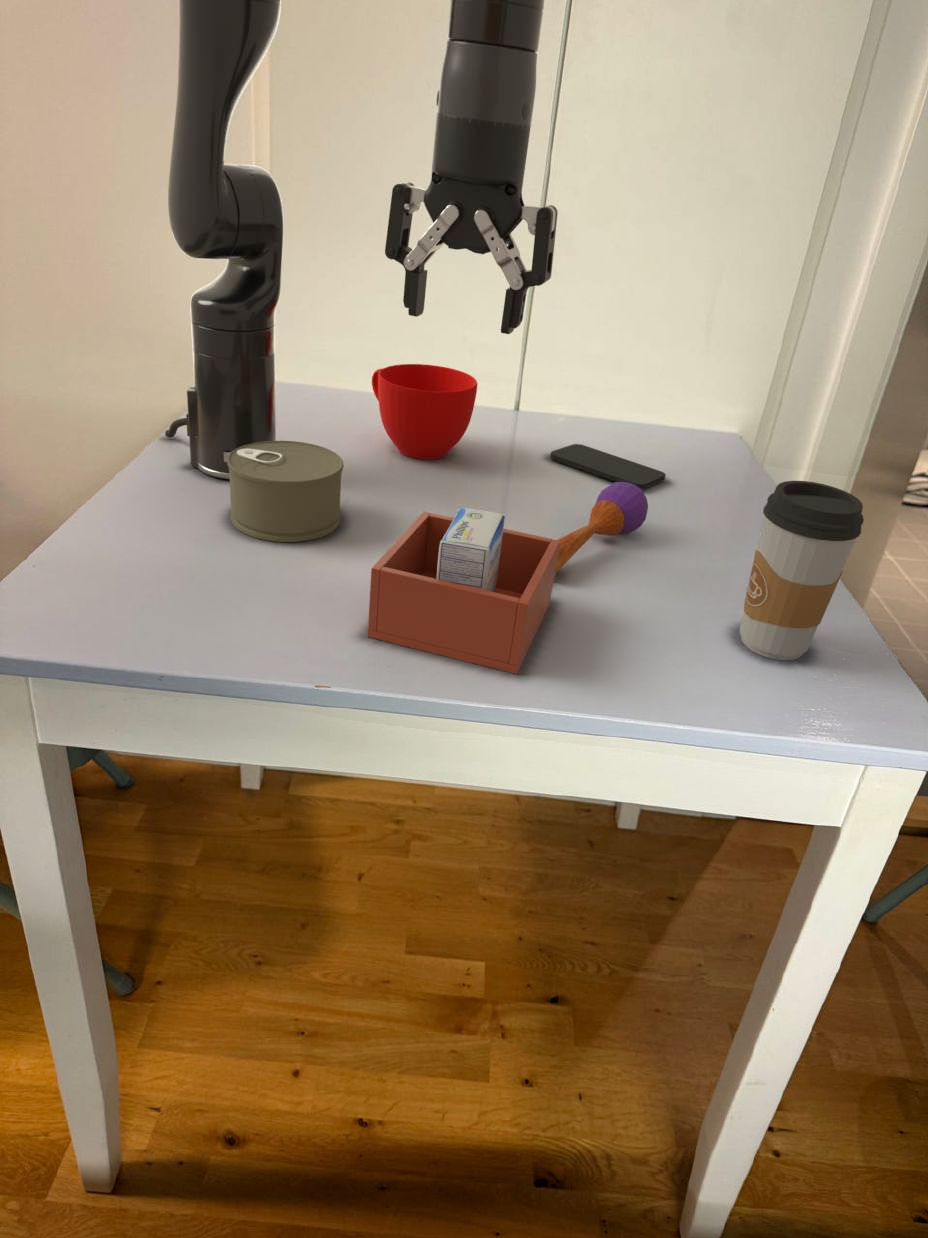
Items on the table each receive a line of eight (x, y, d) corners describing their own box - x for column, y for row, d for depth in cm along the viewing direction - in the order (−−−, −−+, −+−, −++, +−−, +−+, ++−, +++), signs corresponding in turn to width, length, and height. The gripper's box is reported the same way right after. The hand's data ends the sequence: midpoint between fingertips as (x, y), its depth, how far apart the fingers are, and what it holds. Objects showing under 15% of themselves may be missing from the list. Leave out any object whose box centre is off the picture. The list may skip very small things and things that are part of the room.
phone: (577, 442, 128) (669, 473, 120) (576, 448, 129) (667, 479, 121) (547, 452, 123) (641, 485, 115) (546, 458, 123) (640, 491, 116)
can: (312, 552, 92) (313, 489, 88) (207, 528, 94) (204, 466, 91) (358, 511, 102) (360, 453, 98) (262, 490, 104) (261, 433, 101)
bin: (367, 637, 78) (371, 567, 75) (418, 573, 90) (423, 510, 87) (516, 674, 76) (527, 604, 72) (549, 603, 87) (560, 540, 84)
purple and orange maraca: (515, 532, 91) (610, 472, 105) (519, 585, 94) (611, 519, 108) (565, 541, 88) (657, 478, 102) (568, 595, 91) (656, 527, 104)
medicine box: (479, 637, 79) (491, 548, 74) (430, 627, 79) (439, 539, 75) (495, 596, 86) (506, 513, 81) (449, 588, 86) (458, 504, 82)
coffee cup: (715, 619, 88) (755, 475, 80) (795, 623, 89) (842, 481, 81) (745, 666, 81) (792, 513, 73) (832, 669, 82) (887, 519, 74)
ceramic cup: (405, 421, 131) (410, 352, 126) (489, 456, 122) (498, 383, 117) (335, 435, 123) (338, 362, 118) (420, 475, 113) (426, 397, 108)
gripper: (581, 126, 72) (547, 330, 81) (416, 102, 75) (400, 301, 84) (561, 126, 66) (528, 347, 74) (383, 100, 69) (369, 316, 77)
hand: (460, 323), depth 79 cm, fingers open, 8 cm apart
